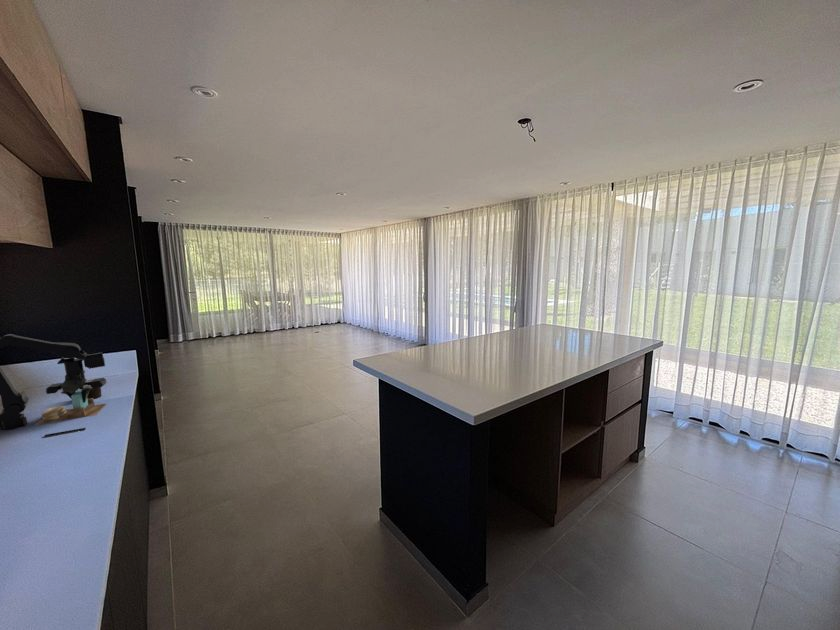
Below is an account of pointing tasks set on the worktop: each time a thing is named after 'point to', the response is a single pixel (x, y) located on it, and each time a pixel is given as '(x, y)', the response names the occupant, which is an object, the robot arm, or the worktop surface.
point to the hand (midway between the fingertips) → (80, 403)
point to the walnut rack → (77, 412)
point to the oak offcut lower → (54, 416)
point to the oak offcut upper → (53, 411)
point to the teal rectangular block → (78, 400)
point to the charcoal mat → (63, 432)
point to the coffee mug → (93, 391)
